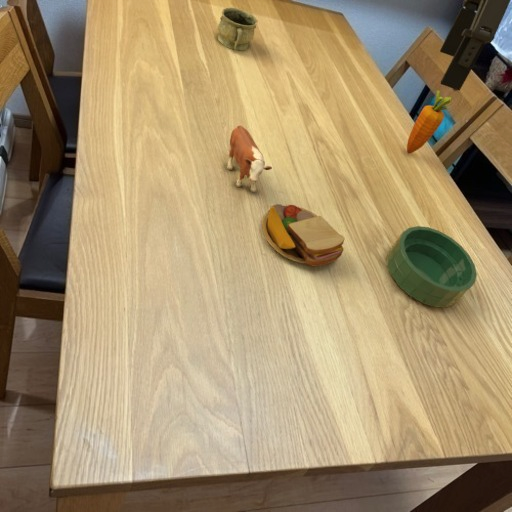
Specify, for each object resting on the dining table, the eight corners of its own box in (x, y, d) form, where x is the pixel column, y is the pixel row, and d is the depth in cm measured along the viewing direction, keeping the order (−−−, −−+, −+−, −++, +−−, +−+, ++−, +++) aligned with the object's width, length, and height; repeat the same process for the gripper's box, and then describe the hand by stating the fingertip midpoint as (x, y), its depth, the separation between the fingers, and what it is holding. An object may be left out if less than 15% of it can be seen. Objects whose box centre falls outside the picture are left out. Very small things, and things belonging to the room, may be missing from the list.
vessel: (252, 58, 117) (260, 32, 112) (216, 49, 114) (223, 23, 110) (248, 34, 124) (255, 9, 120) (214, 26, 122) (220, 0, 117)
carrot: (396, 143, 110) (432, 84, 99) (416, 149, 111) (454, 91, 100) (399, 157, 107) (437, 97, 96) (420, 162, 108) (460, 104, 97)
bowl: (453, 259, 89) (469, 241, 85) (463, 319, 79) (483, 301, 76) (384, 236, 87) (397, 216, 84) (386, 294, 78) (402, 275, 74)
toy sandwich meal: (311, 207, 86) (321, 187, 83) (348, 267, 79) (360, 247, 76) (248, 213, 81) (256, 192, 77) (281, 277, 74) (292, 257, 70)
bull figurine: (238, 206, 81) (252, 168, 75) (220, 153, 89) (231, 116, 83) (262, 207, 83) (277, 170, 77) (243, 155, 91) (255, 118, 85)
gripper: (499, -122, 67) (426, 35, 81) (522, -106, 48) (422, 92, 63) (552, -104, 66) (469, 50, 81) (596, -81, 48) (478, 112, 63)
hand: (448, 69), depth 72 cm, fingers open, 13 cm apart
